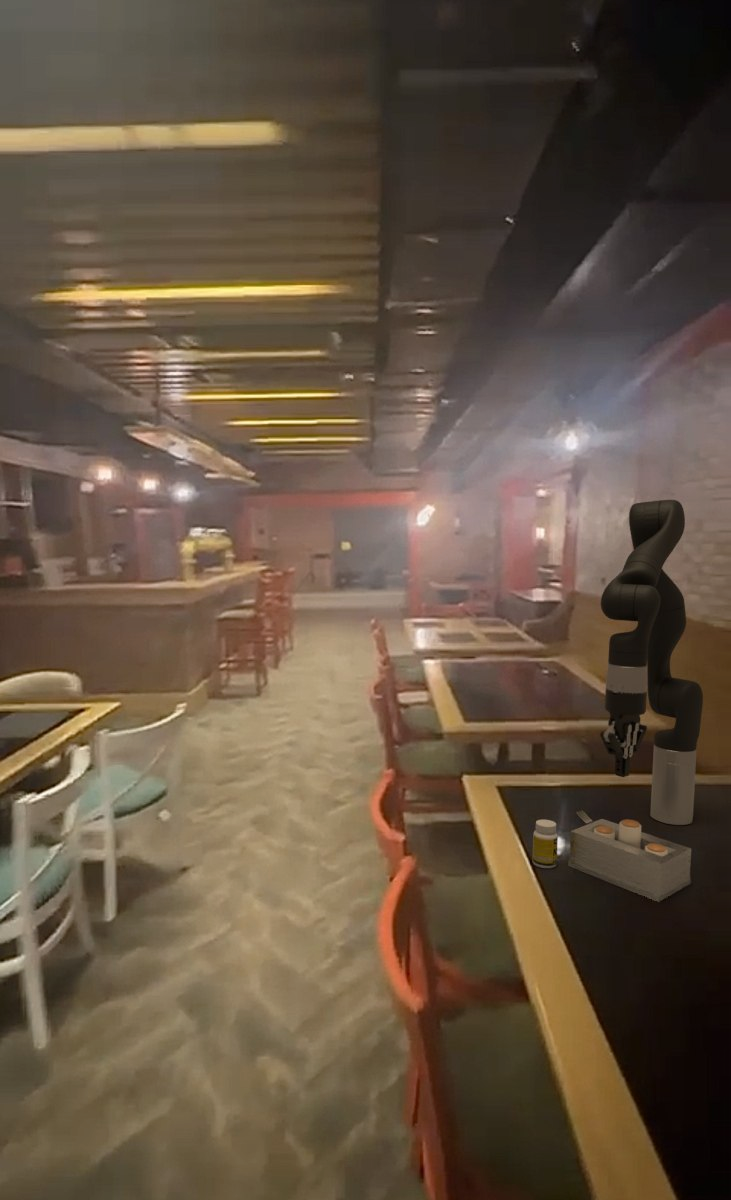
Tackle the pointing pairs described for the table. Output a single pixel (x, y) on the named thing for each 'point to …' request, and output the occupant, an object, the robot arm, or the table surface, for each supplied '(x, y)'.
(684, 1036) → the table surface
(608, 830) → the knob
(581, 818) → the fork
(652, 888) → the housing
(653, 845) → the knob
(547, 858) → the supplement bottle
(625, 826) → the knob
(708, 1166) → the table surface
